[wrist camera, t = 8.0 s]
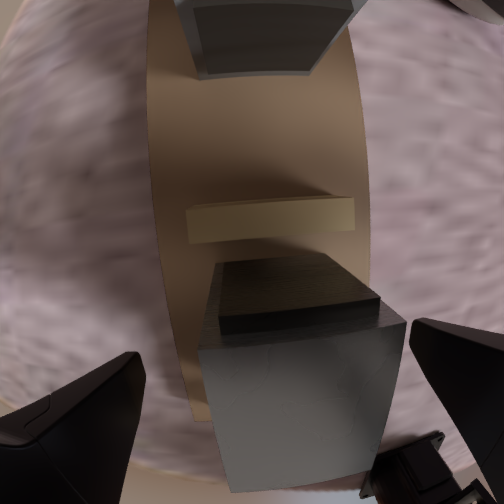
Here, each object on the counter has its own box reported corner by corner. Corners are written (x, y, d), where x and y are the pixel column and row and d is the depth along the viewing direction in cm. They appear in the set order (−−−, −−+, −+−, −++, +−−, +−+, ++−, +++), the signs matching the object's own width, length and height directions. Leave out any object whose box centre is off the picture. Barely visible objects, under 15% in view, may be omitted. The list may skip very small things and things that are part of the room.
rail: (348, 384, 14) (404, 490, 7) (197, 402, 14) (182, 525, 7) (326, -5, 10) (385, -102, 3) (157, 1, 10) (112, -104, 2)
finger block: (322, 365, 12) (370, 469, 6) (229, 376, 12) (231, 492, 6) (323, 243, 11) (409, 303, 5) (214, 252, 11) (193, 330, 5)
